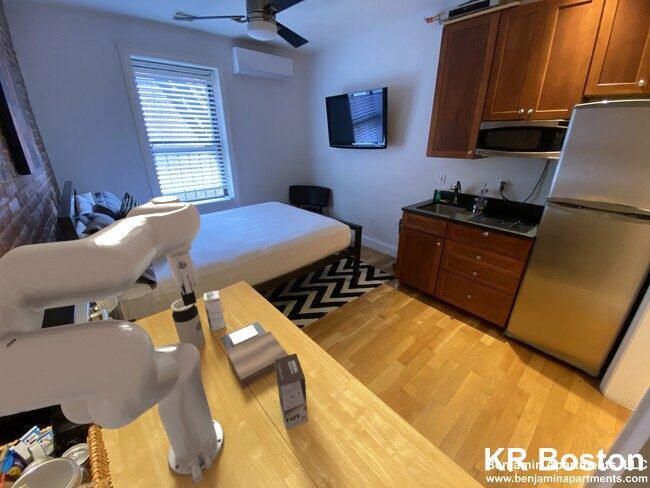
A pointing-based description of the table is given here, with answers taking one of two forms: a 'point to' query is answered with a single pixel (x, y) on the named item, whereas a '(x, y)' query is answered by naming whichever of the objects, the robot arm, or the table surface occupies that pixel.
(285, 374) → the coffee box
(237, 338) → the white block
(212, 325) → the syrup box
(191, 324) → the travel mug
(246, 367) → the brown stand
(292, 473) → the table surface
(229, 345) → the mat
